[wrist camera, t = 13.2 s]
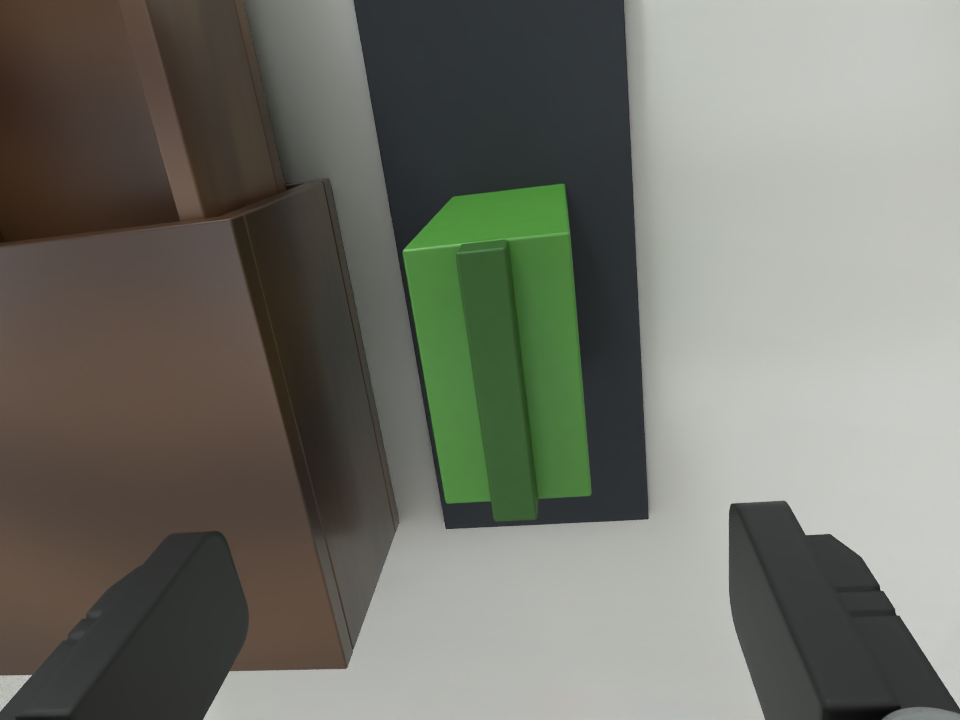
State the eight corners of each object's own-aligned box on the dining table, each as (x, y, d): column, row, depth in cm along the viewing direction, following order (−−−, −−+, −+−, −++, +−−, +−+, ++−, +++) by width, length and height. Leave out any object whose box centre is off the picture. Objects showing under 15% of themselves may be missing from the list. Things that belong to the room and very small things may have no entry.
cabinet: (-10, 220, 28) (-233, 274, 20) (329, 178, 26) (230, 218, 18) (111, 537, 34) (-26, 676, 26) (399, 522, 32) (347, 669, 24)
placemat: (353, -14, 24) (350, -16, 23) (619, -58, 22) (620, -61, 22) (447, 524, 31) (445, 529, 31) (647, 514, 30) (648, 519, 30)
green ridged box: (451, 196, 25) (392, 259, 16) (565, 183, 25) (571, 240, 16) (477, 381, 28) (439, 525, 19) (580, 372, 28) (593, 517, 18)
